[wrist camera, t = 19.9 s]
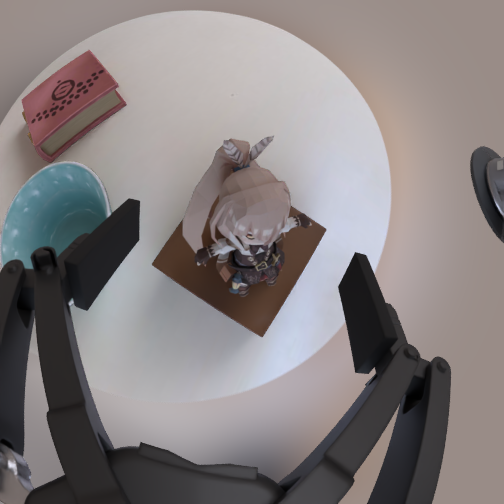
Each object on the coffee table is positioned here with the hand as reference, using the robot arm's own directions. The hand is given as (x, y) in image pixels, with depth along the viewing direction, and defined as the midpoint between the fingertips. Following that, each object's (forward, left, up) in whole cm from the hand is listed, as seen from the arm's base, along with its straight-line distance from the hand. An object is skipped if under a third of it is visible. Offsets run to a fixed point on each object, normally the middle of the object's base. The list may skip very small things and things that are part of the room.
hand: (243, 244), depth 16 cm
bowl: (+18, +8, -15) cm, 25 cm away
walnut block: (+1, -2, -15) cm, 15 cm away
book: (+37, -7, -15) cm, 40 cm away
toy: (+1, -2, -9) cm, 10 cm away
